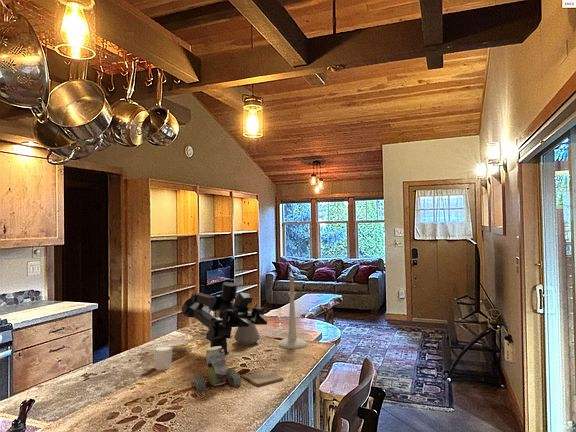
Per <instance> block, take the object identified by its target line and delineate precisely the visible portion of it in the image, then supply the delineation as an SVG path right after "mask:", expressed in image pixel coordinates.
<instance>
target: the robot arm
mask: <svg viewBox="0 0 576 432" xmlns="http://www.w3.org/2000/svg"><path fill="white" fill-rule="evenodd" d="M237 289H238V283H236V282H228V281H224V282H222V289H221V294H219V295H215V296H213V295H211V294H205V293H204V292H195V293H192V294H191V295H190V297H189V298H188V299H186V300H185V302H184V303H183V305H182V307H181V313H182V314H183V316H184V317H186V318H194V319H195V320H197V321H198V322H199V323H201V324H202V325H204V326H205V327H207V328H208V330H207V332H206V334H205V337H206V340H208V341H210V342H209V343H210V344H209V345H210V347H209V348H211V347H215V346H222V348H223V350H224V354H225V355H228V354H230V351H228V343H227V342H228V340H227V339H230V338H231V335H232V331H233V328H238V327H248V326H249V323H248V322H247V321H249V320H251V323H253V324H255V326H259V325H262V326H263V325H267V324H268V320H267V319H266V318H265V317H264V314H265V313H264V312H265V309H264V308H263V307H260V306H257V307H256V308H254V307H253V308H252V309H251V312H252V314H248V313H249V304H251V303H252V302H253V300H254V299H253V298H254V297H253V296H252V294H250V293H247V292H239V293H238V294H237ZM233 301H234V302H233ZM204 306H207V307H208V310H210V311H212V312H217V311H218V312H219V313H218V317H215V316H213V315H212V314H210V313H208V312H207V311H205V310H204V309H203V308H204Z"/></svg>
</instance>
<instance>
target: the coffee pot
mask: <svg viewBox="0 0 576 432" xmlns="http://www.w3.org/2000/svg"><path fill="white" fill-rule="evenodd" d="M256 307H258V304H257V303H256V304H255V305H254V307H253V308H256ZM248 314H252V311H251V312H248ZM247 322H248V323H249V326H248V327H237V328H236V332H235V333H234V340H235V342H237V343H238V345H242V346H251V344H252V345H254V344H256V343H255V342H258V341H259V339H260V337H261V336H260V332H259V331H258V329H257V325H255V324H253V323H251V320H249V321H247Z"/></svg>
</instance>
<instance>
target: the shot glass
mask: <svg viewBox="0 0 576 432" xmlns="http://www.w3.org/2000/svg"><path fill="white" fill-rule="evenodd" d="M172 357H173V347H172V346H170V345H163V346H158V347H154V348H153V358H154V369H155V370H157V371H164V370H167V369H170V368H171V367H172Z"/></svg>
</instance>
